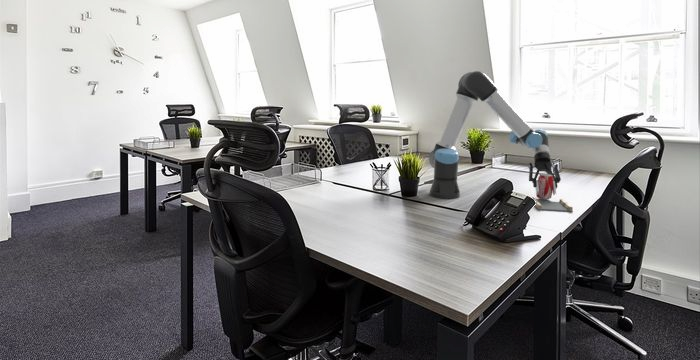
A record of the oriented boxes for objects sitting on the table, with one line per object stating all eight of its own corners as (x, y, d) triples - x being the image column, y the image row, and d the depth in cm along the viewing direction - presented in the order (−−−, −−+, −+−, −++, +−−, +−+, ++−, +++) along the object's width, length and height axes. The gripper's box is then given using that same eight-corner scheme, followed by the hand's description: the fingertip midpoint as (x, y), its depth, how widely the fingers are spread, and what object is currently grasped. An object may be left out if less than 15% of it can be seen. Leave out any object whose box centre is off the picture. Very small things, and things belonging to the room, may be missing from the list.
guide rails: (531, 200, 204) (531, 197, 204) (562, 202, 201) (562, 198, 201) (538, 208, 189) (539, 205, 189) (572, 210, 186) (572, 207, 186)
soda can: (553, 200, 204) (556, 176, 202) (537, 199, 206) (540, 175, 203) (549, 197, 211) (552, 173, 209) (534, 196, 212) (537, 173, 210)
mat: (530, 201, 204) (530, 200, 204) (562, 203, 202) (562, 202, 201) (538, 210, 189) (538, 208, 189) (572, 212, 186) (572, 210, 186)
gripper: (560, 160, 218) (565, 198, 205) (519, 159, 222) (522, 195, 209) (564, 152, 212) (570, 190, 199) (522, 150, 216) (526, 187, 203)
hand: (546, 193), depth 204 cm, fingers closed on soda can, 7 cm apart
